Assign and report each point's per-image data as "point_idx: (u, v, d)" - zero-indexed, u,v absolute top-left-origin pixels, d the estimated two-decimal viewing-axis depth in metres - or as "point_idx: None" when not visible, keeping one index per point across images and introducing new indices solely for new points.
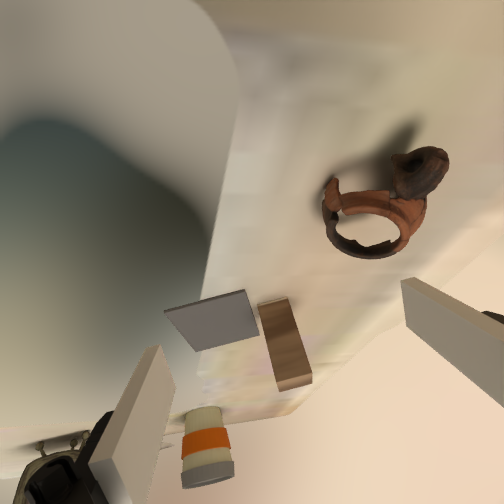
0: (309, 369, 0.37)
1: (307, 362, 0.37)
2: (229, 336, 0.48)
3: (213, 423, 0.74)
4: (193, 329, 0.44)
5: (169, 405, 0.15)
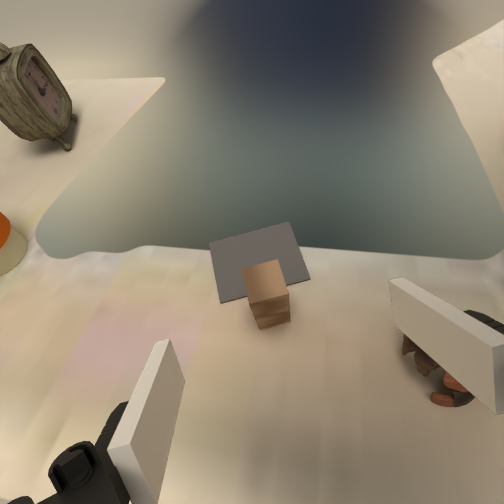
0: (288, 293, 0.34)
1: (288, 296, 0.34)
2: (231, 271, 0.47)
3: (0, 254, 0.51)
4: (255, 240, 0.50)
5: (179, 397, 0.15)
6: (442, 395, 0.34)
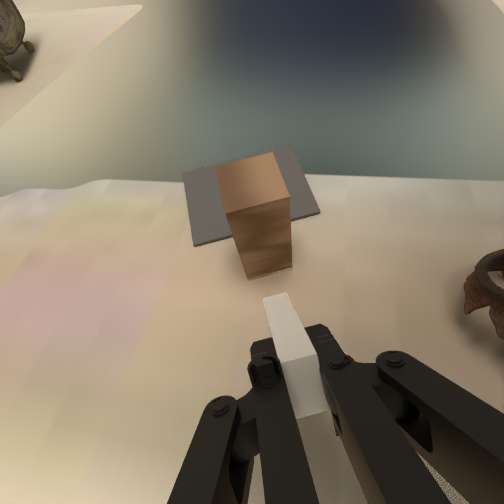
0: None
1: (289, 206, 0.21)
2: (210, 205, 0.34)
3: None
4: None
5: None
6: None
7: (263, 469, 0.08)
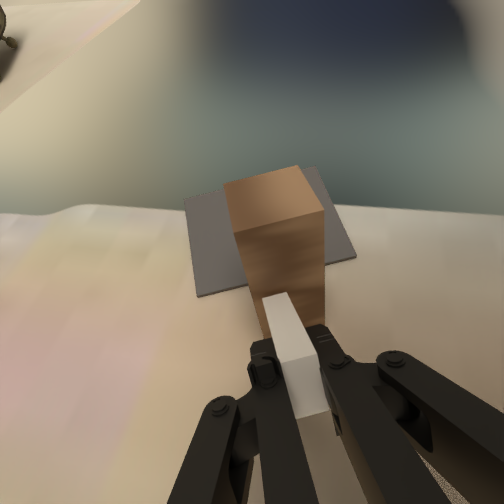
0: None
1: None
2: (218, 242, 0.28)
3: None
4: None
5: None
6: None
7: (263, 469, 0.08)
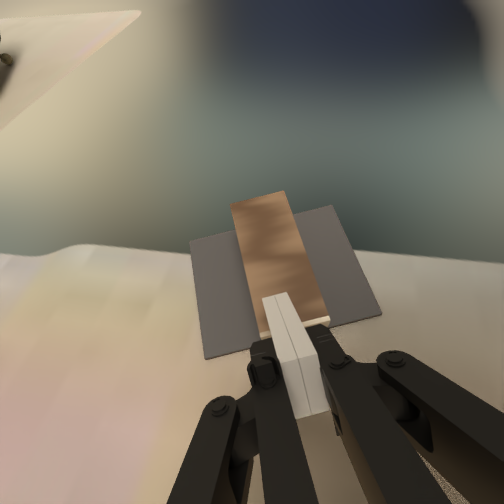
0: (285, 196, 0.24)
1: None
2: (227, 294, 0.25)
3: None
4: None
5: None
6: None
7: (263, 469, 0.08)
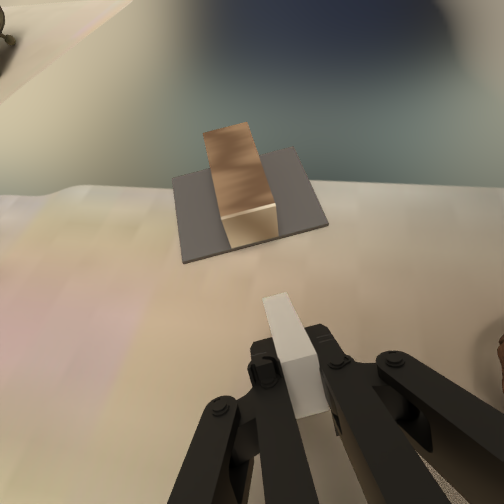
0: (248, 126, 0.29)
1: None
2: (202, 215, 0.30)
3: None
4: None
5: None
6: None
7: (263, 469, 0.08)
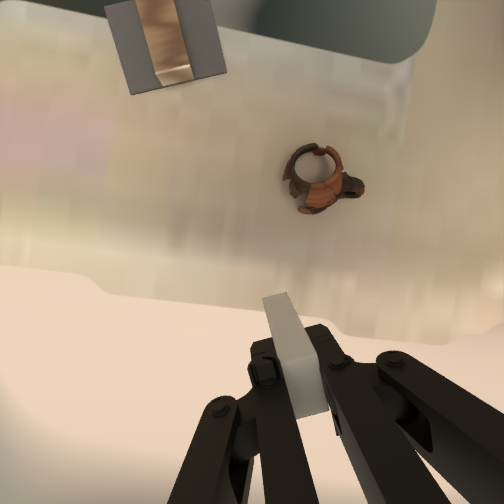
0: None
1: None
2: (138, 53, 0.41)
3: None
4: None
5: None
6: (305, 208, 0.46)
7: (263, 469, 0.08)
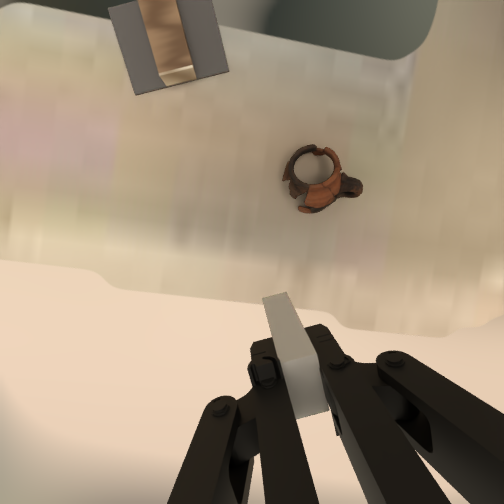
0: None
1: None
2: (141, 54, 0.42)
3: None
4: None
5: None
6: (304, 208, 0.47)
7: (263, 469, 0.08)
